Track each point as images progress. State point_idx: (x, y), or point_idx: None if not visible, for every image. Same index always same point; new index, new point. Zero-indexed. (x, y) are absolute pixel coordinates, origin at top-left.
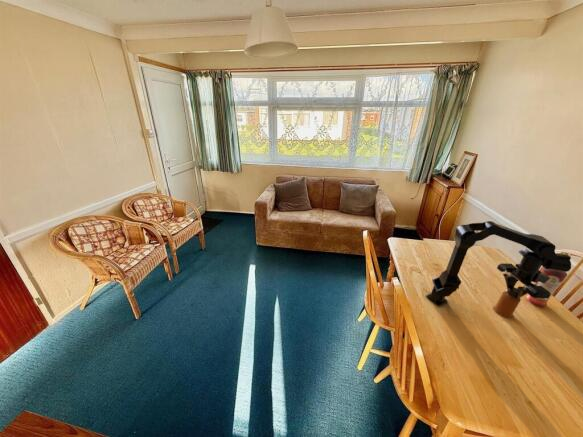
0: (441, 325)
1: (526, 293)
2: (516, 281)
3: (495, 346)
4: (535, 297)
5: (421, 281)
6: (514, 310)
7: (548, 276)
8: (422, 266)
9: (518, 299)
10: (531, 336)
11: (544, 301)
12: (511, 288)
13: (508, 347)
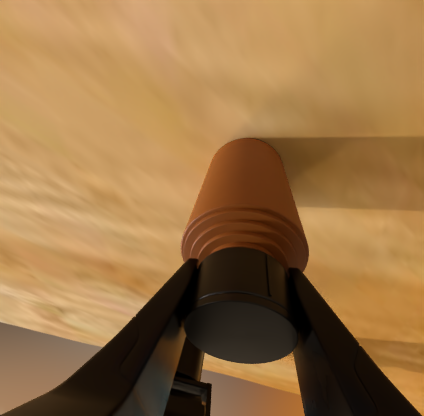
0: (284, 364)
1: (382, 387)
2: (129, 406)
3: (390, 313)
4: None
5: (110, 325)
6: (287, 181)
7: None
8: (17, 288)
9: (296, 255)
10: (420, 158)
11: None
12: (215, 346)
13: (413, 286)
